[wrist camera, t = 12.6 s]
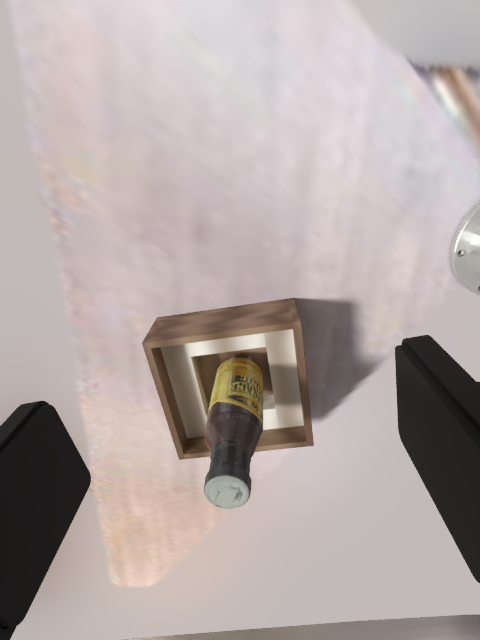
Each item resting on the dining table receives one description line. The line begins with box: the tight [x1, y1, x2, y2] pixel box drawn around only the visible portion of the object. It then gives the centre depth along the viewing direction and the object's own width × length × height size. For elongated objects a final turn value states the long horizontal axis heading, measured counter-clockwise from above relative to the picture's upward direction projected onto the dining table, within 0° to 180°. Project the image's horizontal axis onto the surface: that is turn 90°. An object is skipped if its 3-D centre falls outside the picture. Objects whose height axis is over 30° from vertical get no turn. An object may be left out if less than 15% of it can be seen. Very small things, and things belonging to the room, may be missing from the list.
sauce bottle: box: [204, 354, 263, 509], centre depth 39 cm, size 6×6×20 cm
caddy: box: [142, 298, 314, 460], centre depth 46 cm, size 18×18×7 cm
